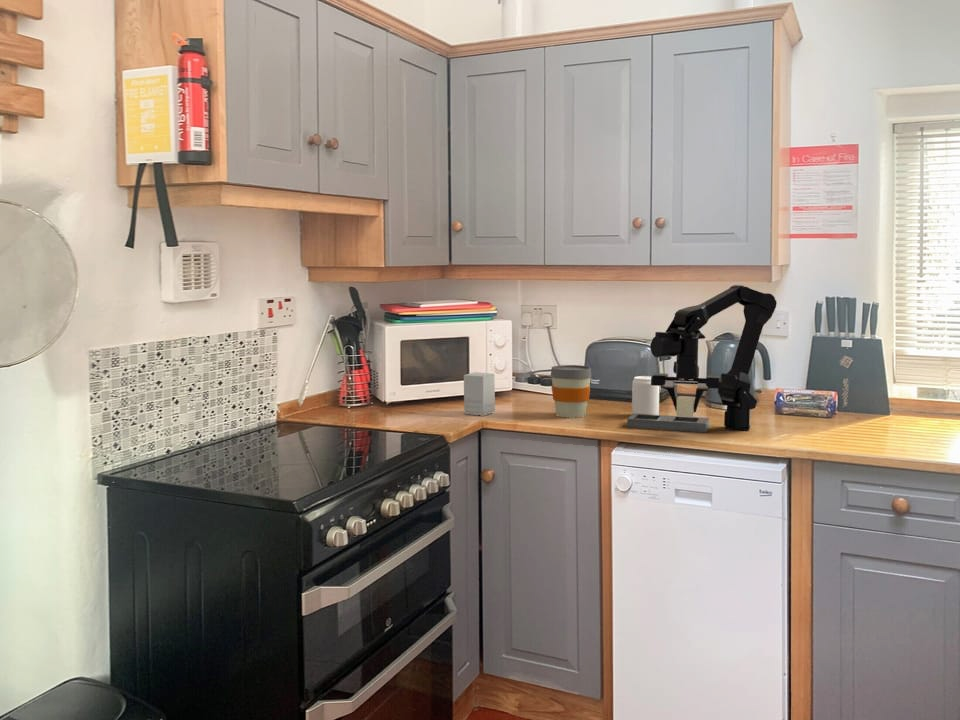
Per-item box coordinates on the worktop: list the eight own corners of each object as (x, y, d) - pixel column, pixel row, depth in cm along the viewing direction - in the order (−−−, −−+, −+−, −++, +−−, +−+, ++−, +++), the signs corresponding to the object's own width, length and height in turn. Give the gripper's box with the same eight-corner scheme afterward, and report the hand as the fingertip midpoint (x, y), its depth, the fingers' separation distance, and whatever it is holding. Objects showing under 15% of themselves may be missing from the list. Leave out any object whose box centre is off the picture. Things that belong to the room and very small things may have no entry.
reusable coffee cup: (570, 420, 253) (571, 371, 251) (542, 415, 262) (542, 367, 261) (599, 415, 260) (600, 367, 259) (570, 410, 270) (571, 363, 268)
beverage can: (658, 419, 255) (659, 379, 253) (631, 418, 256) (632, 379, 255) (658, 414, 262) (659, 376, 261) (632, 413, 264) (632, 375, 263)
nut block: (695, 414, 234) (695, 396, 233) (693, 417, 230) (693, 399, 229) (678, 413, 235) (678, 396, 235) (676, 416, 231) (676, 398, 231)
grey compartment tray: (709, 426, 243) (709, 417, 243) (705, 432, 235) (706, 423, 234) (632, 421, 251) (632, 413, 250) (627, 427, 242) (627, 418, 242)
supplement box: (495, 412, 267) (495, 373, 265) (483, 416, 261) (482, 376, 259) (476, 410, 271) (475, 371, 269) (463, 414, 264) (463, 374, 263)
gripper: (724, 353, 235) (723, 408, 237) (657, 351, 241) (656, 405, 243) (721, 358, 224) (720, 415, 226) (651, 355, 231) (650, 411, 233)
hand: (685, 411), depth 232 cm, fingers closed on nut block, 4 cm apart
